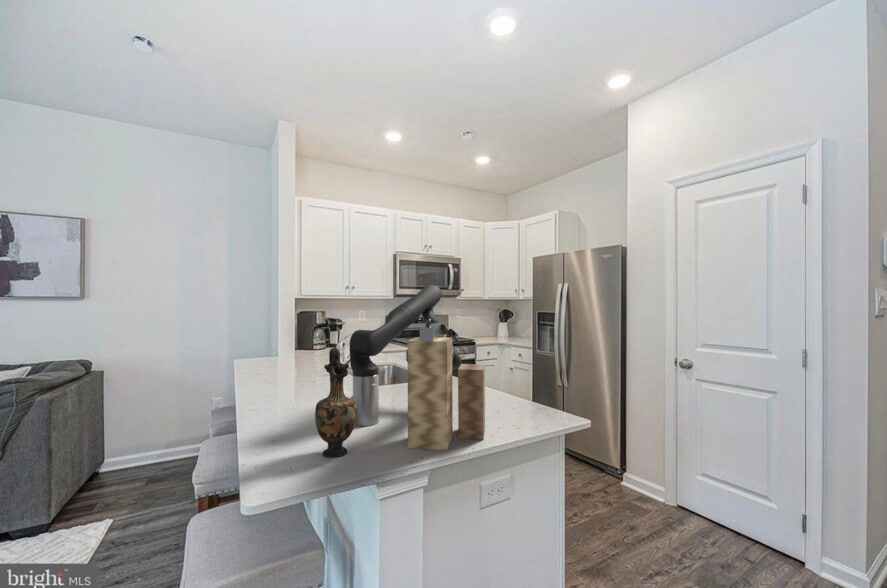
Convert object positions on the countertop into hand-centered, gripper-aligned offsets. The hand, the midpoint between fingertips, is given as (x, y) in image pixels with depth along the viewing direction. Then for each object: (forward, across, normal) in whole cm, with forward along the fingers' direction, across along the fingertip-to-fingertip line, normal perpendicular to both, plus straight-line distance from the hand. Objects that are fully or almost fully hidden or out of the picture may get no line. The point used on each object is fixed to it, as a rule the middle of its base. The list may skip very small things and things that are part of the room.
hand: (435, 326), depth 128 cm
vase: (-1, -26, +41) cm, 48 cm away
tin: (+2, 0, +5) cm, 6 cm away
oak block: (-11, 0, +35) cm, 36 cm away
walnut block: (-19, +12, +30) cm, 37 cm away
